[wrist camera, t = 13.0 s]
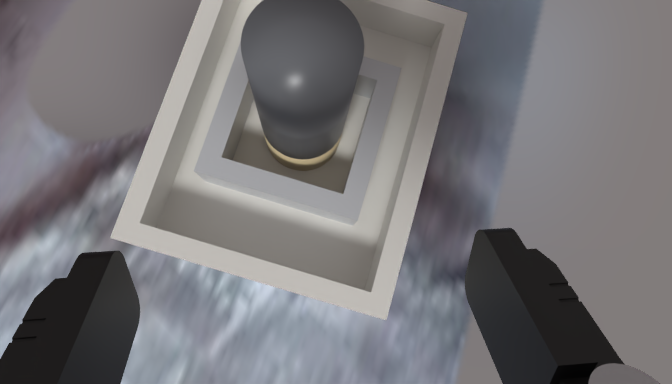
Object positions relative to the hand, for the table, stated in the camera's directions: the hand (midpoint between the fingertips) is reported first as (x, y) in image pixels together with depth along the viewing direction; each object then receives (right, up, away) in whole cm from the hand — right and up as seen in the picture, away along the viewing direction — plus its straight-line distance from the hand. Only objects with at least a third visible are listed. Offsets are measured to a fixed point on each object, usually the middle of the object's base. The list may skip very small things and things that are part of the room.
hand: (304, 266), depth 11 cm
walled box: (-1, +5, +15) cm, 16 cm away
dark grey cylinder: (-1, +5, +14) cm, 15 cm away
